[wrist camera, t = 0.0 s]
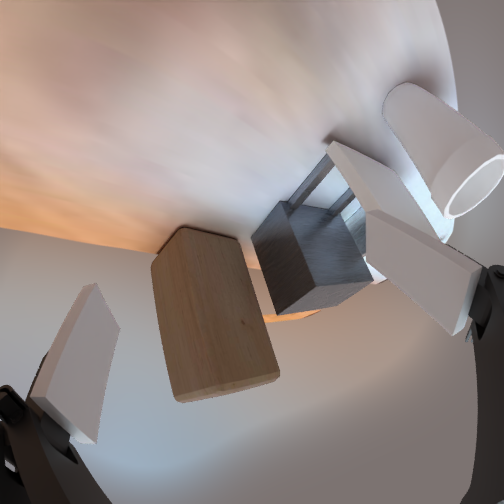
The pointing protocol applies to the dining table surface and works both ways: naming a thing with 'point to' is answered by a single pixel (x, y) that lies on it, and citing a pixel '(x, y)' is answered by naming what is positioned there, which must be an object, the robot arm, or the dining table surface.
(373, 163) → the gauge slider
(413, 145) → the foam cup
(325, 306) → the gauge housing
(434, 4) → the dining table surface
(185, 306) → the wooden block
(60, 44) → the dining table surface
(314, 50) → the dining table surface
